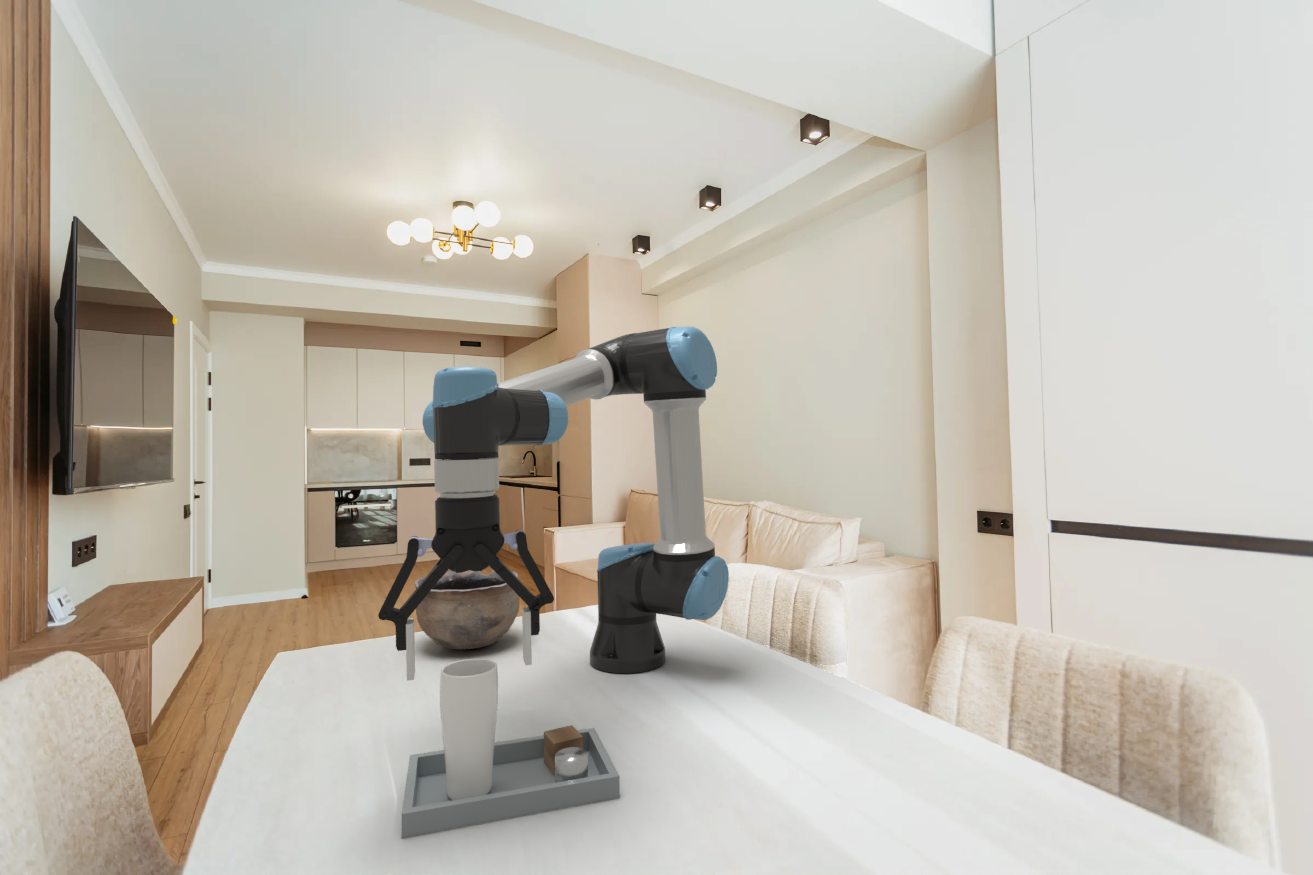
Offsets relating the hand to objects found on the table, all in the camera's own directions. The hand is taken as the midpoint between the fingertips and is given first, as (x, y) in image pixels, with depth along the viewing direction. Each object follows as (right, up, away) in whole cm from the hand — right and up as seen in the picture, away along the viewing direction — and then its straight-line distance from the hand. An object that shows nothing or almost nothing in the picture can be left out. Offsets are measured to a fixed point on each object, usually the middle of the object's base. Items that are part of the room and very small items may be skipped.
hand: (470, 668), depth 76 cm
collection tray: (+5, -15, +1) cm, 16 cm away
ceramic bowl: (-18, -18, +61) cm, 66 cm away
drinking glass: (0, -15, -1) cm, 15 cm away
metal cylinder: (+12, -15, 0) cm, 19 cm away
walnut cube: (+10, -15, +6) cm, 19 cm away
